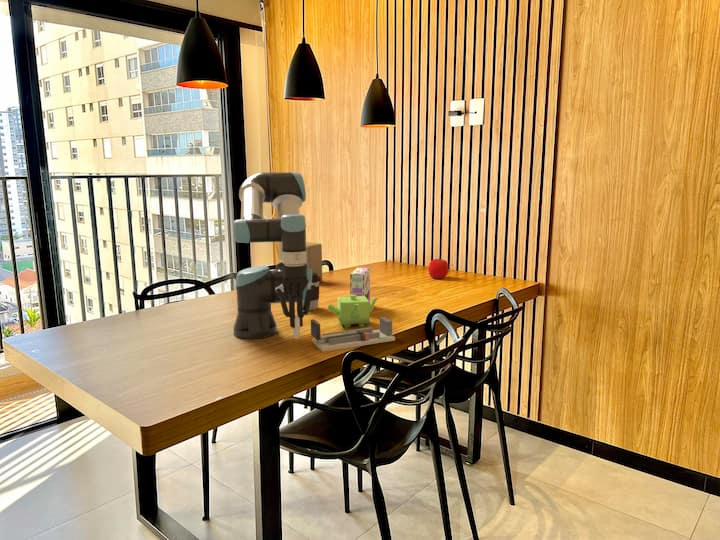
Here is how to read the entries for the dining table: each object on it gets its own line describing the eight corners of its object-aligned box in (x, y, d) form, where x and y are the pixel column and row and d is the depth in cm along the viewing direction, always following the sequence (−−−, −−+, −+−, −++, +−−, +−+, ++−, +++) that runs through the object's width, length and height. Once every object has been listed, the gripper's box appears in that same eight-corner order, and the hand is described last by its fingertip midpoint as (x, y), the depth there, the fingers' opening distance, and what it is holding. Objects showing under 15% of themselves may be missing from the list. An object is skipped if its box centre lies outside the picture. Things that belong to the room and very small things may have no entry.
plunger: (319, 347, 164) (318, 326, 162) (311, 340, 171) (310, 319, 169) (363, 340, 170) (363, 320, 169) (354, 334, 177) (353, 314, 176)
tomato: (428, 276, 281) (428, 256, 279) (448, 276, 279) (448, 256, 277) (428, 280, 271) (428, 259, 269) (448, 280, 269) (449, 260, 267)
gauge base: (322, 351, 164) (322, 333, 163) (312, 342, 173) (312, 324, 172) (395, 340, 175) (395, 322, 174) (381, 332, 184) (381, 315, 183)
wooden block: (308, 279, 275) (307, 241, 271) (323, 281, 269) (322, 243, 265) (295, 282, 267) (294, 244, 263) (310, 284, 261) (309, 245, 257)
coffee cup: (326, 308, 216) (325, 273, 214) (308, 313, 209) (307, 276, 207) (310, 304, 223) (309, 270, 220) (292, 308, 216) (291, 273, 213)
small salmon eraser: (365, 340, 170) (365, 334, 170) (363, 339, 171) (363, 332, 171) (368, 339, 171) (368, 333, 170) (367, 338, 172) (367, 332, 171)
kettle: (380, 322, 196) (380, 293, 194) (360, 332, 184) (359, 301, 182) (348, 316, 204) (347, 288, 202) (326, 325, 192) (325, 296, 190)
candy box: (364, 313, 208) (364, 273, 205) (349, 313, 209) (349, 273, 206) (370, 305, 221) (370, 267, 218) (357, 304, 222) (356, 267, 219)
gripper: (277, 267, 155) (280, 343, 159) (318, 264, 160) (319, 337, 164) (271, 264, 162) (273, 336, 166) (310, 260, 167) (312, 330, 171)
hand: (296, 336), depth 165 cm, fingers closed
